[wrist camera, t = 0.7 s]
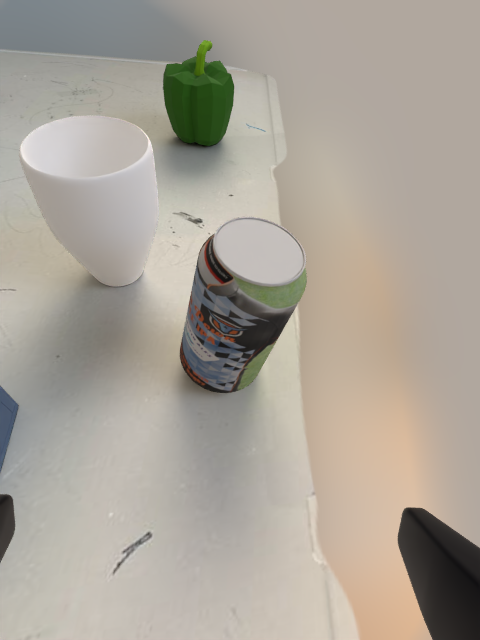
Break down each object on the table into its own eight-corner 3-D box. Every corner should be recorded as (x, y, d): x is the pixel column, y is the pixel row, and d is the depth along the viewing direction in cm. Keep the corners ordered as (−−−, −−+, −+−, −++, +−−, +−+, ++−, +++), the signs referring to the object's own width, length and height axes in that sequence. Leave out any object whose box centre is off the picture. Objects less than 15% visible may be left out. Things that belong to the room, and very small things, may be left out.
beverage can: (178, 333, 29) (165, 205, 20) (268, 325, 30) (297, 200, 21) (184, 407, 26) (172, 293, 16) (286, 395, 27) (332, 282, 17)
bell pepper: (200, 161, 45) (199, 66, 37) (155, 135, 47) (144, 42, 40) (245, 138, 49) (253, 49, 41) (201, 116, 52) (200, 28, 44)
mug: (163, 305, 31) (145, 182, 22) (59, 304, 30) (-4, 177, 21) (171, 215, 38) (161, 95, 29) (88, 213, 37) (51, 88, 28)
